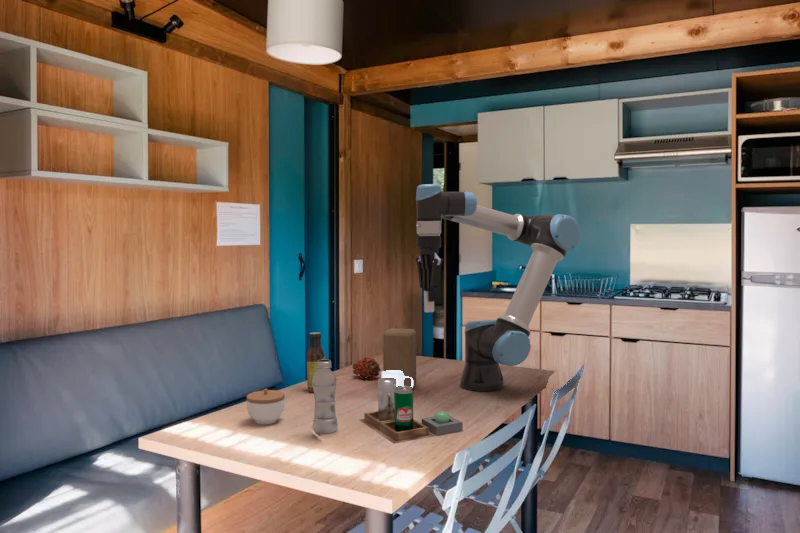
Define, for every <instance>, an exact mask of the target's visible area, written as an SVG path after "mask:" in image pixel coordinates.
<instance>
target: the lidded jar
mask: <svg viewBox="0 0 800 533" xmlns="http://www.w3.org/2000/svg"><path fill="white" fill-rule="evenodd" d="M285 394H286V393H285V392H283V391H282V390H275V389H268V388H264V389H263V390H258V391H253V392H250V393H248V394H247V395H246V405H247V411H248V414H249V417H250V418H251V419H252V420H253V421H254V422H255V424H257V425H262V424H265V425H272V424H275V423H276V422H278V420H279V419H280V418H281V416H282V415H283V412H284V409H285V398H286V396H285Z"/></svg>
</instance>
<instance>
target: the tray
mask: <svg viewBox="0 0 800 533" xmlns="http://www.w3.org/2000/svg"><path fill="white" fill-rule="evenodd" d="M359 421H360V422H361V423H363V424H364V425H365V426H367V427H369V428H370V429H372V430H373V432H374V431H375V432H376V433H378V435H380V436H382V437H383V438H385V439H386V440H388V441H389V442H391V443H392V444H398V443H405V442H410V441H417V440H422V439H427V438H432V437H435V435H434V434H433V433H431V432H429V428H428V427H427V426H425V425H423V424H422V422H419V421H418V420H416V419H415V418H413V428H414V429H412V430H406V431H401V432H396V431H395V430H394V419H392V420H386V421H379V420H378V410H377V411H370V412H364V417H363V418H361V419H359Z"/></svg>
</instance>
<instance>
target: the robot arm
mask: <svg viewBox="0 0 800 533" xmlns="http://www.w3.org/2000/svg"><path fill="white" fill-rule="evenodd" d="M415 195H416V196H415V202H416V205H415V206H416V225H415V227H416V234H417V236H416V248H417V249H420V251H419V256H416V257H415V262H416V265H417V273H418V281H419V288H420V289H422V290H423V304H424V305H423V311H424V313H434V312H435V291H436V290H439V288H440V280H441V273H442V272H441V271H442V266H443V263H444V259H443V258H440V256H439V250H438V249H440V248H442V237H441V234H442V219H444V220H448V221H451V222H455V223H458V224H462V225H467V226H469V227H474V228H477V229H481V230H484V231H487V232H491V233H493V234H494V233H495V234H498V235H503V236H506V237H507V238H508V239H509V240H510V241H512V242H516V243H520V244H523V245H526V246H528V247H531V249H532V253H531V256H530V258H529V259H528V263H527V265H526V267H525V269H524V271H523V273H522V275H521V277H520V279H519V282H518V284H517V285H516V288H515V290H514V293H513V295H512V297H511V299H510V301H509V304H508V306H507V308H506V310H505V312H504V314H503V315H500V316H498V317H497V319H487V320H485V319H484V320H483V319H482V320H473V321H468V322H466V324H465V325H464V326H465V328H464V342H465V344H464V345H465V347H464V355H465V356H464V361H465V363H464V367H463V370H462V373H461V376H460V379H459V384H460V385H459V386H460V387H461V388H463V389H465V390H468V391H474V392H475V391H476V392H493V391H498V390H502V389H503V388H505V380H504V377H503V373H502V370H501V367H500V365H502V366H507V367H515V366H518V365H520V364H521V363H523V362H525V360H526V359H527V358H528V356H529V354H530V352H531V346H532V345H531V344H530V343H531V340H530V338H529V337H530V336H531V330H530V327H529V326H530V323H531V321H532V319H533V316H534V315H535V312H536V310H537V307H538V305H539V303H540V301H541V299H542V297H543V294H544V292H545V290H546V288H547V286H548V284H549V282H550V281H549V280H550V279H551V277H552V274H553V273H554V272H553V271H554V270H555V268H556V265H557V263H558V262H560V261H562V260H564V259H565V256H566V254H567V252H568V251H570V250H574V249H575V248H576V247H577V246H578V245H579V242H580V240H581V229H580V227H579V224H578V222H577V220H576V219H574V217H572V216H570V215H568V214H561V213H560V214H558V213H557V214H545V215H544V214H543V215H541V214H539V215H526V214H520V213H515V214H510V213H507V212H503V211H500V210H496V209H493V208H489V207H486V206H483V205H479V204H477V203H478V201H477V197H476V195H475V194H474V193H473V192H471V191H443V190H442V187H441V185H440V184H436V183H434V184H433V183H428V184H427V183H426V184H419V185H418V186H417V187H416V194H415Z"/></svg>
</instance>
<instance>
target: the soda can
mask: <svg viewBox="0 0 800 533" xmlns="http://www.w3.org/2000/svg"><path fill="white" fill-rule="evenodd" d="M395 389H396V390H395V391H394V430H395V431H396V432H401V431H406V430H412V429H414V428H413V419H414V391H413V389H412V387H410V386H398V387H396V388H395Z"/></svg>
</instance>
